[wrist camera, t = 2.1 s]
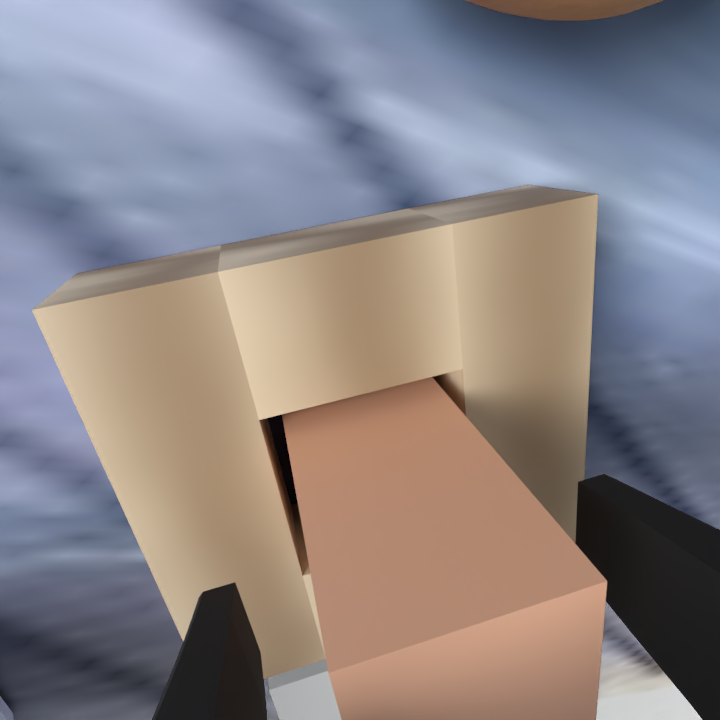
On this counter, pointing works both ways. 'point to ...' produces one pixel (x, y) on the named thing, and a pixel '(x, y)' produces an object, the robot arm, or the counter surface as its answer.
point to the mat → (304, 693)
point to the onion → (565, 8)
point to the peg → (439, 567)
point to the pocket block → (323, 375)
